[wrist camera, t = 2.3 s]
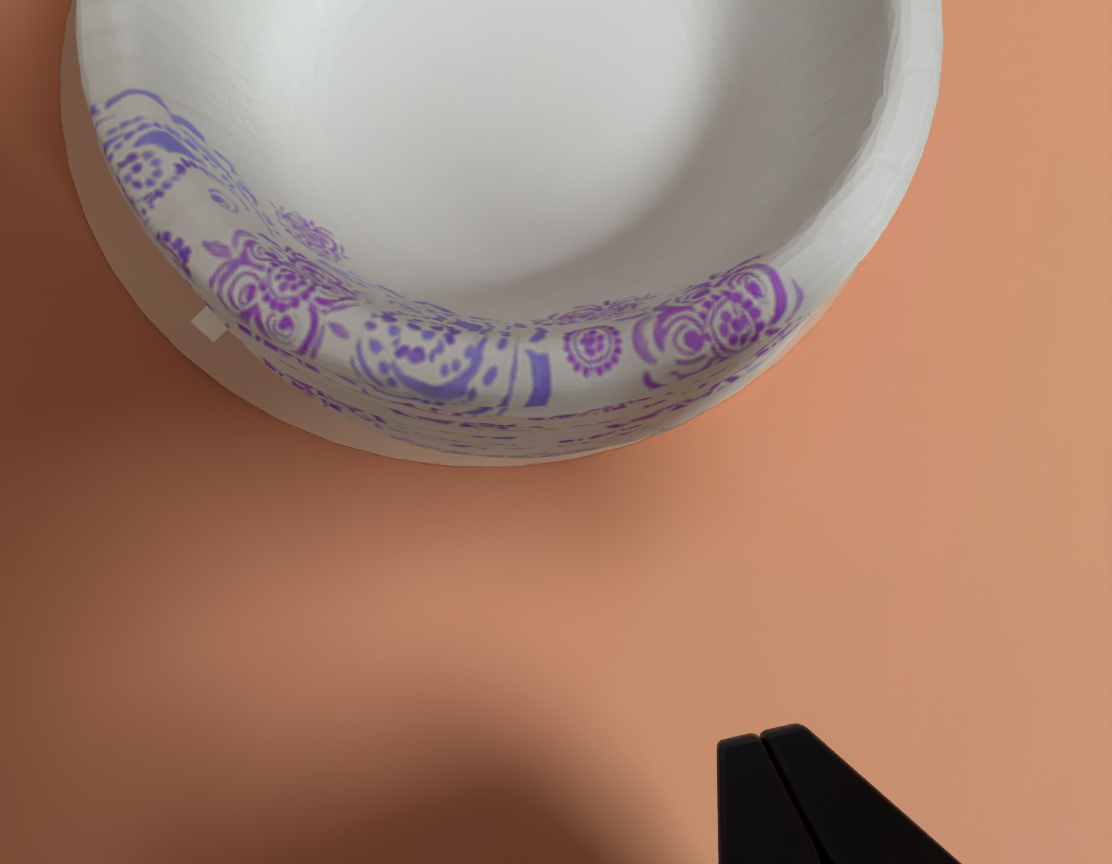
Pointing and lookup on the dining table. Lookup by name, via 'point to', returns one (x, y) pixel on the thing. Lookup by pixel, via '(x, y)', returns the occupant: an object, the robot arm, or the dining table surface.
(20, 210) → the dining table surface
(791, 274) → the white floral bowl
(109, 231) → the centring plate
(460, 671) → the dining table surface
